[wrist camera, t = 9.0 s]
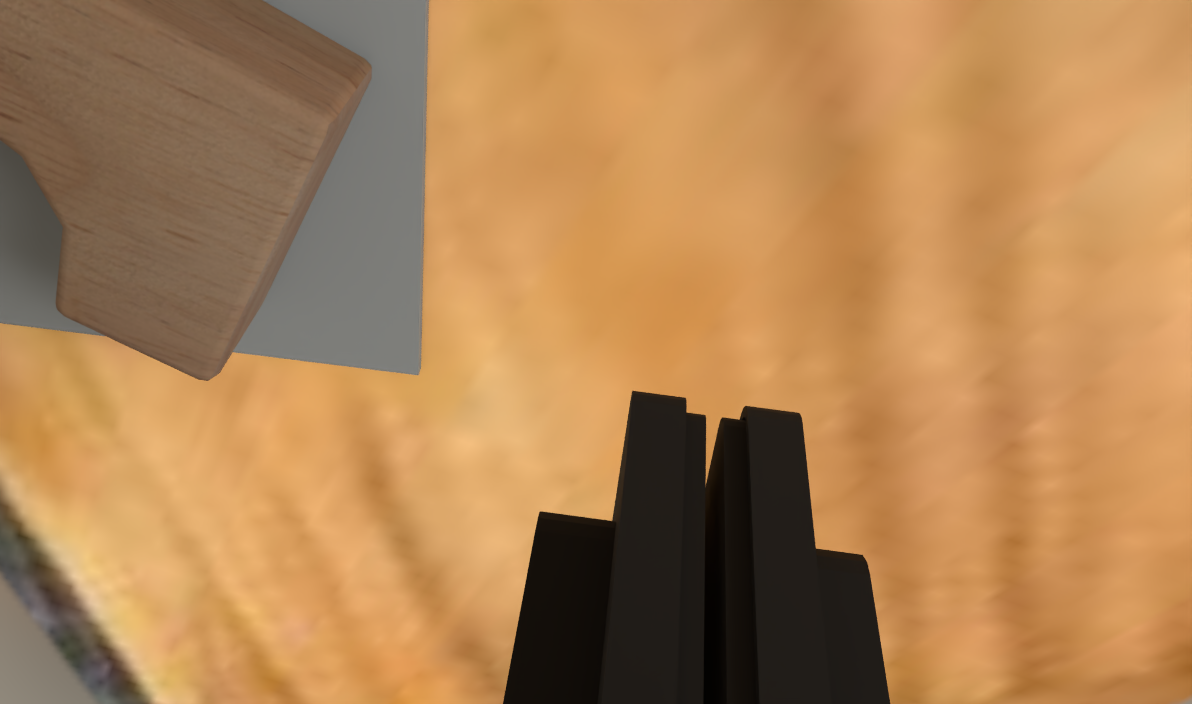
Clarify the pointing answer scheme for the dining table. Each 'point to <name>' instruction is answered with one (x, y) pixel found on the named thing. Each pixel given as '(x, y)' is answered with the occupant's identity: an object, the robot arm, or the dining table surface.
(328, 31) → the mat
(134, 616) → the dining table surface
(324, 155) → the wooden block
